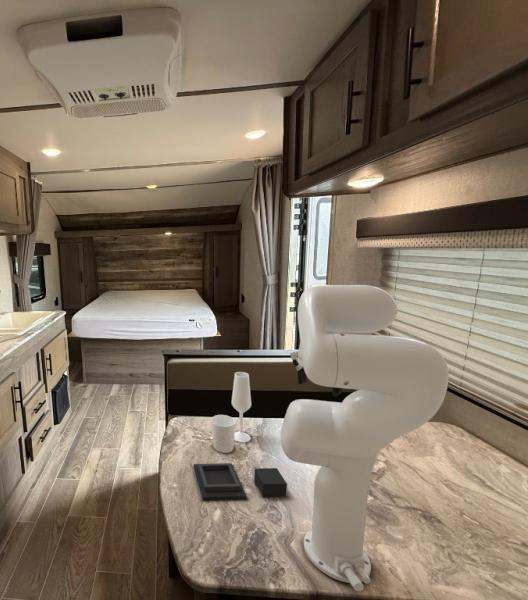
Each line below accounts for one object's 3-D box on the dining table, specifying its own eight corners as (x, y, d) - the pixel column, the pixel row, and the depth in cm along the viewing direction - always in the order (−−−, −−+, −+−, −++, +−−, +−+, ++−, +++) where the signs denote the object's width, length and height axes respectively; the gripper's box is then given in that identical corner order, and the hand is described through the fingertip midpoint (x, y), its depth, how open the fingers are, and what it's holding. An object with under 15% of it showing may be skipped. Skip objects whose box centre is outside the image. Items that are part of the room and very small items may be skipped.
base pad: (246, 499, 90) (246, 491, 90) (202, 500, 90) (202, 492, 90) (231, 466, 104) (231, 458, 103) (193, 466, 104) (193, 459, 104)
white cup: (210, 452, 111) (210, 424, 110) (212, 439, 119) (212, 413, 117) (235, 455, 109) (235, 428, 107) (235, 442, 116) (235, 416, 115)
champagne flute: (245, 431, 123) (246, 370, 119) (253, 441, 116) (255, 377, 113) (228, 432, 122) (228, 371, 119) (235, 442, 116) (236, 378, 112)
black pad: (286, 496, 90) (287, 483, 90) (262, 497, 91) (263, 484, 90) (276, 480, 97) (276, 467, 96) (254, 480, 97) (254, 468, 96)
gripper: (284, 326, 96) (282, 381, 98) (348, 338, 81) (344, 403, 83) (299, 322, 99) (297, 376, 102) (363, 334, 84) (359, 396, 87)
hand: (318, 388), depth 93 cm, fingers open, 9 cm apart
